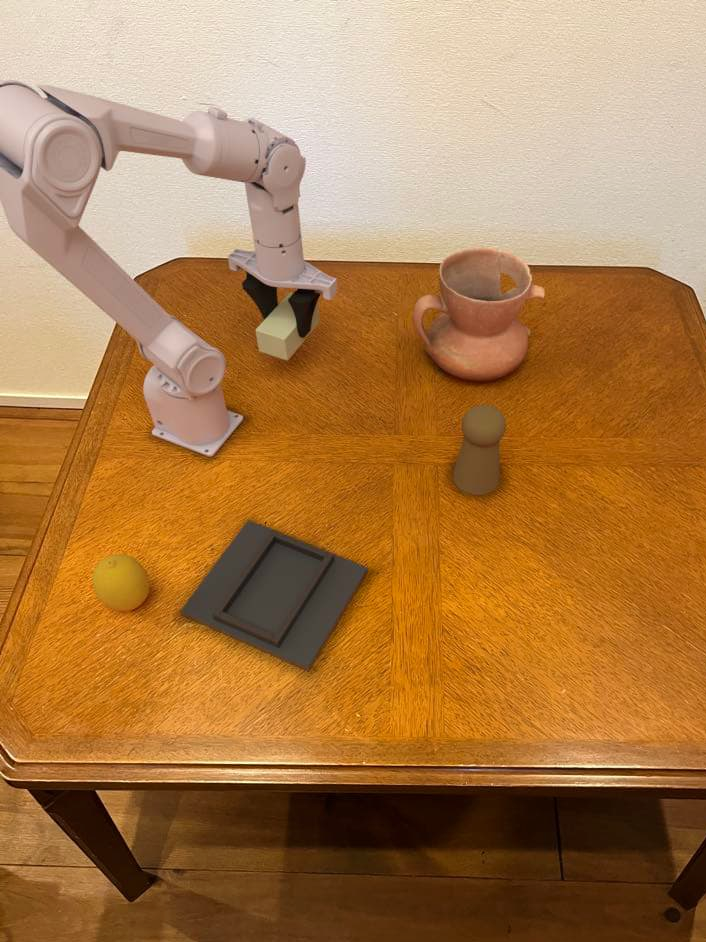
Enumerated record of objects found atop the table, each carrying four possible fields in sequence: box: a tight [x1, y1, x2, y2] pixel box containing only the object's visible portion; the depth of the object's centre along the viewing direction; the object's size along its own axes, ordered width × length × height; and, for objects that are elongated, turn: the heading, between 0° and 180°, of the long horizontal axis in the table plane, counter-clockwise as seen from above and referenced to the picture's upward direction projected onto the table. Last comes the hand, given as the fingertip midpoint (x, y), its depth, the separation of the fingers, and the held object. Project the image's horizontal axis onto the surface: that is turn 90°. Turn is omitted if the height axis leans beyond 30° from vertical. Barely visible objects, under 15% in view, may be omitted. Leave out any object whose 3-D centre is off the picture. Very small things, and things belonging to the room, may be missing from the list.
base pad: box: [179, 519, 369, 673], centre depth 83 cm, size 16×14×2 cm
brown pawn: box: [452, 404, 507, 496], centre depth 90 cm, size 6×6×11 cm
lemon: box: [92, 553, 151, 613], centre depth 79 cm, size 6×6×8 cm
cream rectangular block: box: [254, 292, 321, 361], centre depth 99 cm, size 4×9×4 cm, turn 155°
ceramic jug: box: [412, 247, 546, 382], centre depth 102 cm, size 18×14×14 cm
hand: (289, 328), depth 99 cm, fingers closed on cream rectangular block, 4 cm apart
